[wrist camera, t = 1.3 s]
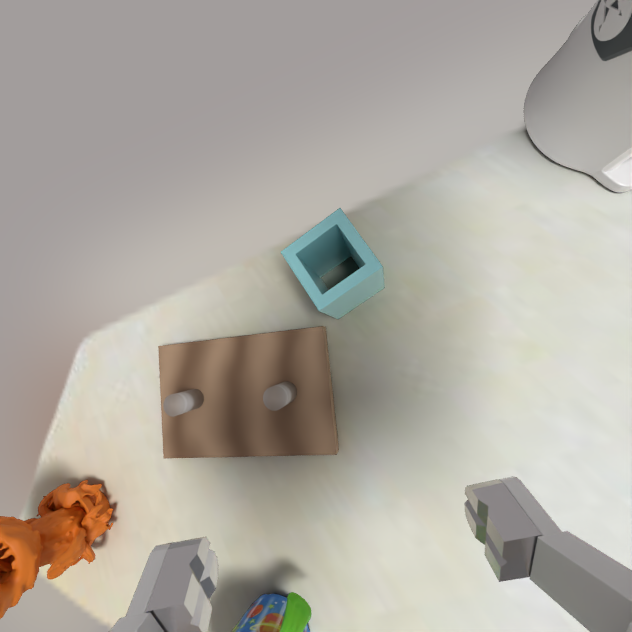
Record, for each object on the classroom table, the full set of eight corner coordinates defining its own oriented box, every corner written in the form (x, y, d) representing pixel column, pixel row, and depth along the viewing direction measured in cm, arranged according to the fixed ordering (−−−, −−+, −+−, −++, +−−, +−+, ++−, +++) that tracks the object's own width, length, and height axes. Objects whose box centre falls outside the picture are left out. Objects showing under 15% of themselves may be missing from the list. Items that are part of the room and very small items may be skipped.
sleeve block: (353, 244, 35) (339, 207, 25) (384, 287, 34) (383, 266, 24) (309, 275, 36) (280, 252, 26) (338, 319, 35) (318, 311, 25)
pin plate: (325, 326, 35) (314, 324, 30) (338, 449, 34) (329, 470, 28) (166, 346, 40) (132, 346, 35) (172, 453, 39) (137, 471, 33)
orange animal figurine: (129, 472, 40) (-71, 574, 22) (124, 558, 39) (-90, 734, 22) (65, 463, 43) (-159, 547, 25) (59, 543, 42) (-178, 689, 24)
